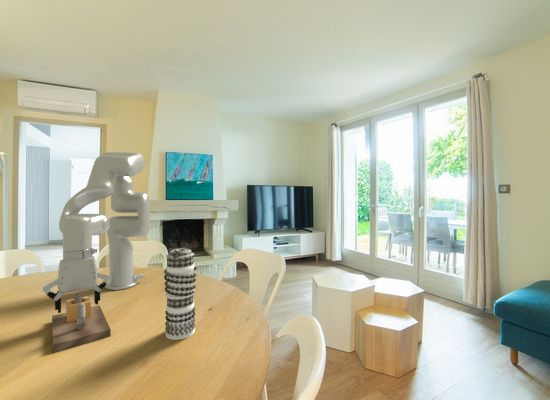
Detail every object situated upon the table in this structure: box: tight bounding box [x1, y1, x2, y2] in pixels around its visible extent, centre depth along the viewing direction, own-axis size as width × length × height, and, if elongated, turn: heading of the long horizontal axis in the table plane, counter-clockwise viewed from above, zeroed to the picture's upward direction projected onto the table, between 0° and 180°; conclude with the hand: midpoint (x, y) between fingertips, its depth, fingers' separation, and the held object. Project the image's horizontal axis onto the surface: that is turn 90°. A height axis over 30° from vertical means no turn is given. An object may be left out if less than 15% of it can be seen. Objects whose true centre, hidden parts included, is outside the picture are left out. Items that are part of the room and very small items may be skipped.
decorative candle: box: [163, 247, 197, 341], centre depth 80 cm, size 9×9×25 cm
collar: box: [65, 295, 92, 323], centre depth 86 cm, size 6×6×5 cm
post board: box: [51, 292, 112, 353], centre depth 83 cm, size 13×22×10 cm, turn 40°
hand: (78, 307), depth 86 cm, fingers open, 9 cm apart
